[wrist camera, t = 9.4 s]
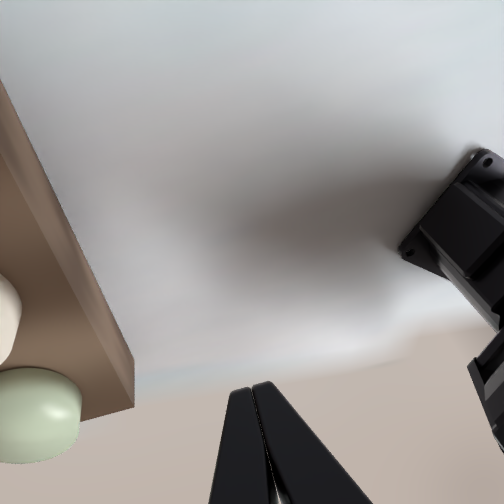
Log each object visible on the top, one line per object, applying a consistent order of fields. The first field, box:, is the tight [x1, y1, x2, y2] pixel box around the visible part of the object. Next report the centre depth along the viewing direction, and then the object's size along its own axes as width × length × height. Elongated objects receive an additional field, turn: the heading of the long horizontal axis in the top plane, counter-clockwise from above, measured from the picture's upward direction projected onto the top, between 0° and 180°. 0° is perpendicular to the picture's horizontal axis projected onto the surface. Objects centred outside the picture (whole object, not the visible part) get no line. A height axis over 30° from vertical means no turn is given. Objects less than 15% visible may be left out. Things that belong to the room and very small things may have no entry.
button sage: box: [0, 368, 82, 464], centre depth 20 cm, size 4×4×2 cm
